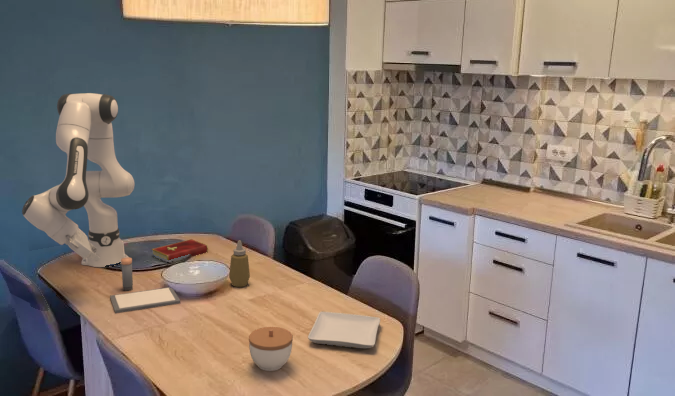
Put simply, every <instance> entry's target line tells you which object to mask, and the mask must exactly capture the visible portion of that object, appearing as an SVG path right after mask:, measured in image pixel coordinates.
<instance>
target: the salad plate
mask: <svg viewBox="0 0 675 396" xmlns="http://www.w3.org/2000/svg"><path fill="white" fill-rule="evenodd" d="M380 323H381V317H378V316H377V317H376V316H369V315H362V314H355V313H353V314H352V313H344V312H335V311H334V312H333V311H332V312H331V311H319V313H318V314H317V317H316V319H315V321H314V323H313V325H312V328H311V329H310V331H309V333H308V336H307V339H308V341H311V342H312V343H315V344H321V345H325V344H327V345H326V346H333V345H336V346H335V347H342V346H345V347H344V348H351V347H356V348H355V349H372V348H374V346H375V345H376V339H377V335H378V334H377V333H378V329H379V327H380Z"/></svg>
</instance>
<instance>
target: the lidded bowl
mask: <svg viewBox="0 0 675 396" xmlns="http://www.w3.org/2000/svg"><path fill="white" fill-rule="evenodd" d="M293 338H294V337H293V334H292V332H291V331H290V330H288V329H286V328H283V327H279V326H265V327H260V328H257V329H255V330H253V331H252V332H250V334H249V335H248V341H249V342H248V343H249V354H250V356H251V359H252V361H253V362H254V364H255V365H256V366H258V368H259V369H260V370H261V371H262V370H263V371H265V372H274V371H279V370H280V369H282V368H283V366H284V365H285V364H286V363H287V362H288V361H289V359H290V356H291V353H292V350H293V340H294V339H293Z"/></svg>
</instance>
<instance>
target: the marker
mask: <svg viewBox="0 0 675 396" xmlns="http://www.w3.org/2000/svg"><path fill="white" fill-rule="evenodd" d="M120 265H121V279H122V280H121V281H122V291H124V292H130V291H132V290H133V289H134V288H133V287H134V286H133V285H134V281H133V279H134V278H133V258H132V257H129V256H128V257H127V258H122V259H121V263H120Z"/></svg>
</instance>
